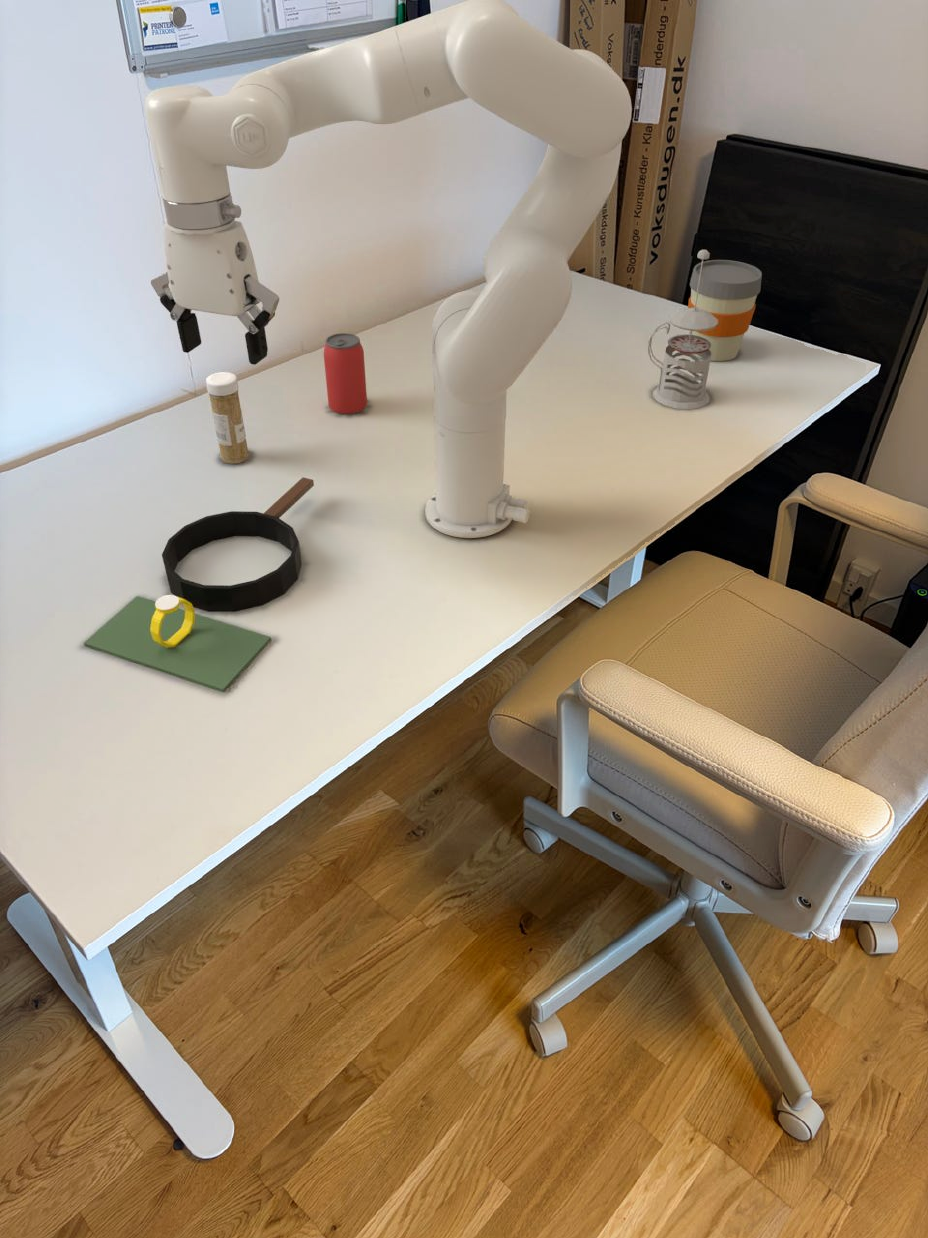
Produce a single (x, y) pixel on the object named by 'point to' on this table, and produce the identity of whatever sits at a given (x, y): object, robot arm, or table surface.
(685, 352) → the french press
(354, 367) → the beer can
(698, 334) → the reusable coffee cup
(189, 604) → the watch
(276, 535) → the pan
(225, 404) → the sprinkles bottle
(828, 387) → the table surface
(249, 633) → the mat
